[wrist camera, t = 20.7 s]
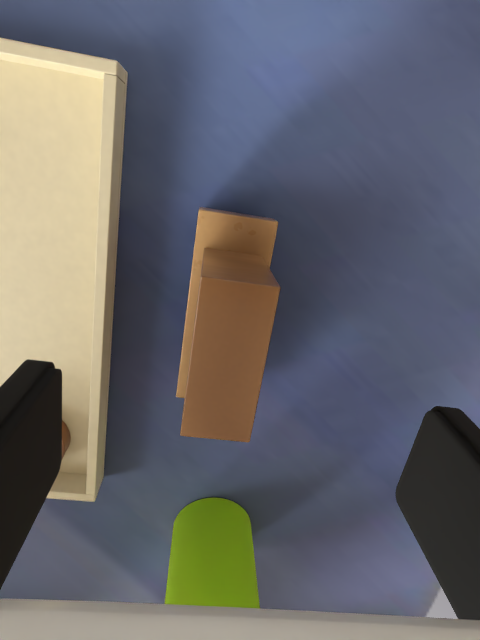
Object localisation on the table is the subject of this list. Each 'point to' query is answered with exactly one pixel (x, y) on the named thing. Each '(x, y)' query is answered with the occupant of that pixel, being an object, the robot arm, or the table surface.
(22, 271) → the tray
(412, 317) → the table surface
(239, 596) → the lime green pump bottle
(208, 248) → the brush
